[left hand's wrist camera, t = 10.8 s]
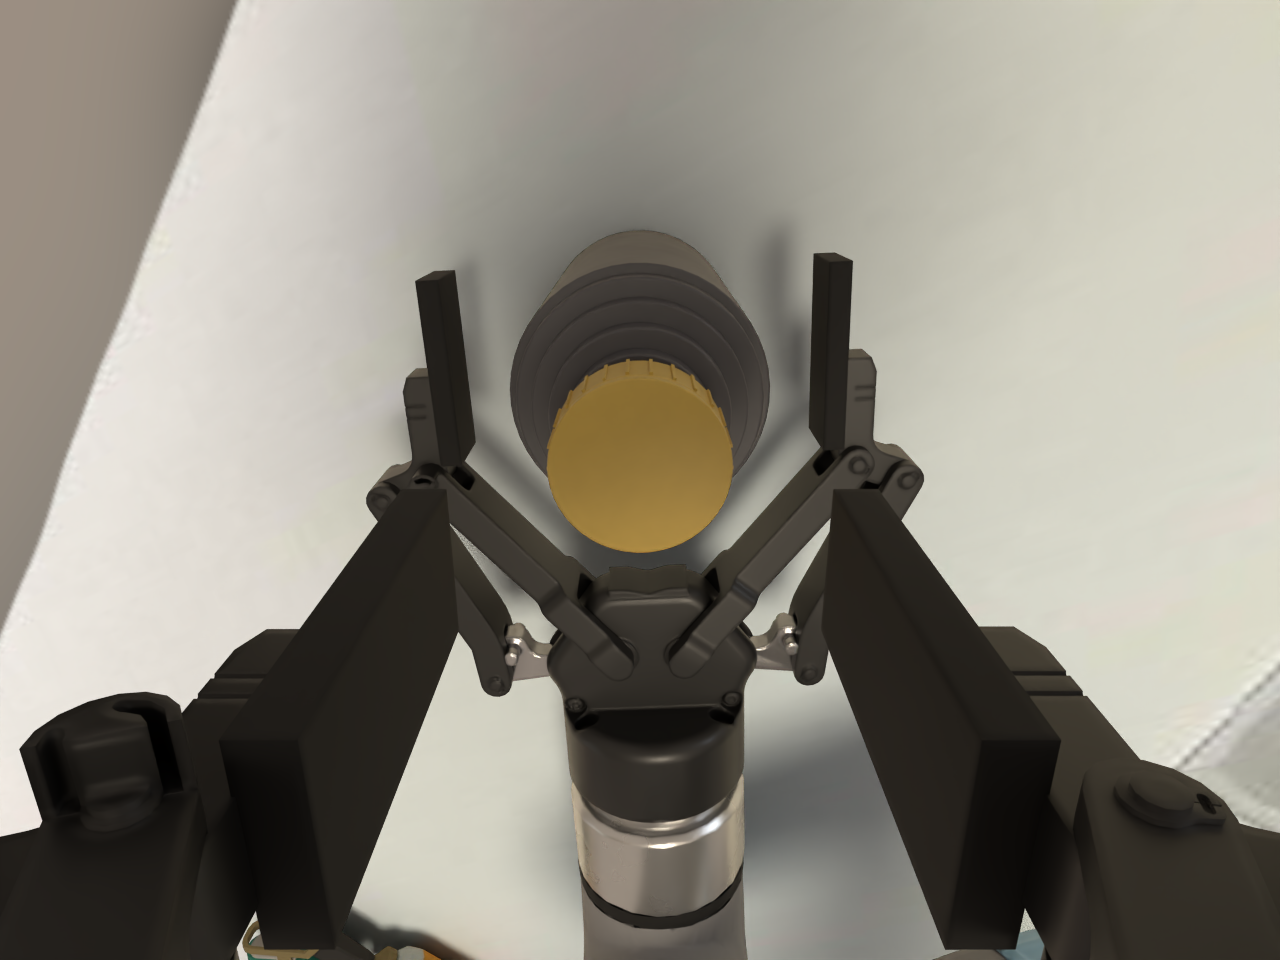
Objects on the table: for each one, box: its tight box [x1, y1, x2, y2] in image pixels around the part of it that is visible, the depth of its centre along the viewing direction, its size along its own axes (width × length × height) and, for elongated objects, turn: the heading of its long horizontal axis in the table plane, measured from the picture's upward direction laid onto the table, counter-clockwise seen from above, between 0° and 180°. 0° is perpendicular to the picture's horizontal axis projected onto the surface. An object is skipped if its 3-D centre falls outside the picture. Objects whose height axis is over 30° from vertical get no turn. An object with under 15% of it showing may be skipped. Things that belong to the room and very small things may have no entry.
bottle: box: [510, 230, 770, 477], centre depth 28 cm, size 8×8×18 cm
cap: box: [547, 359, 734, 553], centre depth 20 cm, size 4×4×2 cm
